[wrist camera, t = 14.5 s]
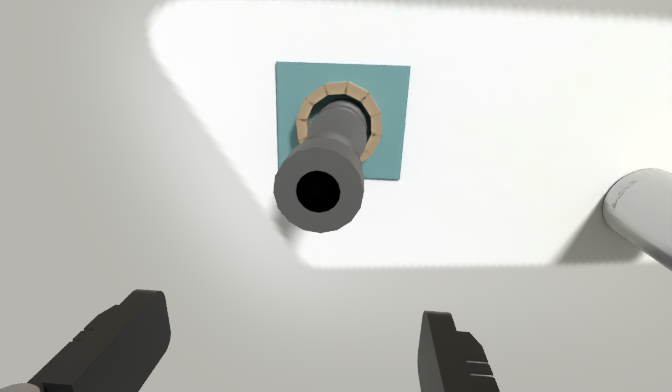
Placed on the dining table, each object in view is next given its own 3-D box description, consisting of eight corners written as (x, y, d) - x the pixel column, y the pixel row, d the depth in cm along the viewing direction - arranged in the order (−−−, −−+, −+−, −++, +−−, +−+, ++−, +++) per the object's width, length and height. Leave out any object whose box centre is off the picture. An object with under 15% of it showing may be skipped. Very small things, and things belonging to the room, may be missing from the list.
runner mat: (410, 66, 44) (410, 66, 43) (399, 178, 49) (399, 179, 48) (276, 61, 45) (275, 61, 44) (279, 172, 50) (278, 173, 49)
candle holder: (307, 124, 47) (249, 192, 23) (341, 87, 45) (313, 121, 22) (343, 157, 48) (321, 253, 25) (377, 122, 46) (388, 191, 23)
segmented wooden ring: (395, 104, 45) (397, 107, 42) (357, 174, 49) (357, 181, 46) (321, 66, 44) (318, 67, 41) (288, 140, 48) (283, 145, 45)
